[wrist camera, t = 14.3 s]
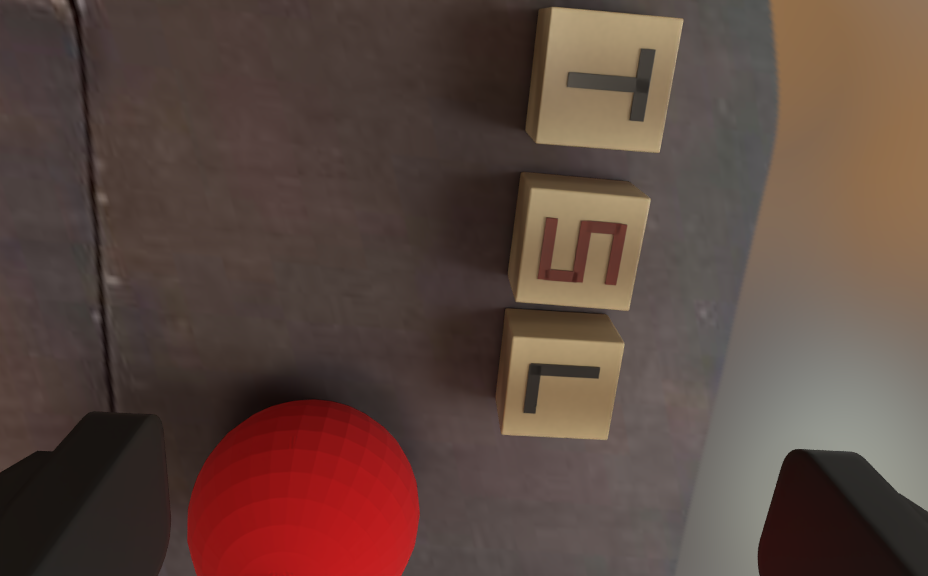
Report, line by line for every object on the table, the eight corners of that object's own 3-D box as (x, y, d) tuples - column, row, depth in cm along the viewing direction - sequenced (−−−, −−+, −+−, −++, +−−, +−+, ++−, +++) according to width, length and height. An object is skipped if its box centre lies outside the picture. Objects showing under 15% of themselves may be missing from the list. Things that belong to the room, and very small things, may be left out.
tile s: (520, 171, 28) (530, 187, 25) (630, 181, 28) (652, 198, 25) (507, 276, 29) (515, 303, 26) (610, 284, 30) (629, 312, 27)
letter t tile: (538, 8, 26) (551, 6, 23) (657, 19, 26) (685, 18, 23) (525, 131, 27) (535, 143, 24) (636, 140, 27) (660, 153, 25)
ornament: (402, 346, 30) (387, 489, 21) (436, 512, 33) (437, 700, 24) (200, 378, 30) (96, 534, 21) (254, 540, 34) (184, 738, 24)
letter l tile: (505, 307, 30) (512, 337, 27) (607, 313, 30) (625, 344, 27) (495, 399, 31) (501, 436, 29) (592, 404, 32) (608, 441, 29)
